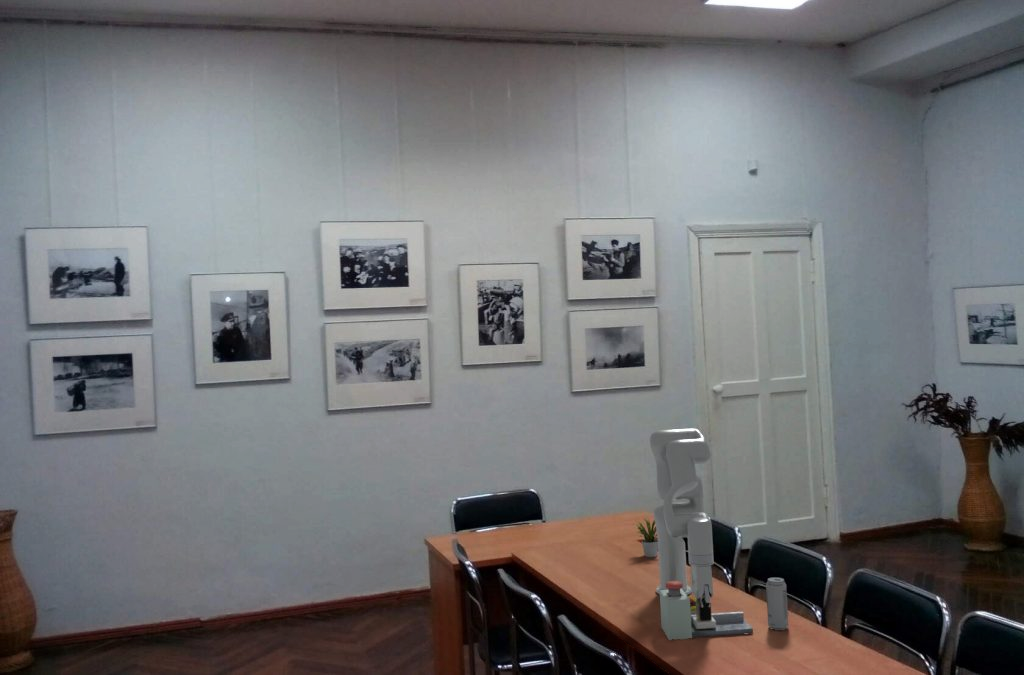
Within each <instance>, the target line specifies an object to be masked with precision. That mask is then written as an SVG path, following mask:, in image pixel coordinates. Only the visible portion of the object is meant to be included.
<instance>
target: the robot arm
mask: <svg viewBox="0 0 1024 675" xmlns="http://www.w3.org/2000/svg"><path fill="white" fill-rule="evenodd" d="M649 445H650V449H651V452H652V454H653V456H654V459H655V463H656V465H655V466H656V488H657V494H658V497H659V498H660V499H661V500H663V503H661V504H659V505H657V506H656V507H655V508H654V511H653V518H654V519H653V520H655V526H656V529H657V530H656V534H657V536H656V537H657V540H658V567H659V585H658V586H657V587H656V588H655V591H656V593H657V594H658V595H660V590H668V588H666V586H665V583H666V582H669V581H678V582H682V585H683V587H682V588H680V589H682V590H683V591H684V592H685V594H686V595H687V596H688V595H691V594H693V595H694V596H695V598H696V600H700V604H701V607H700V619H701V620H711V614H712V608H711V609H710V602H711V599H712V597H713V596H714V587H713V586H714V584H713V575H712V573H713V571H712V565H714V564H715V563H714V561H715V560H714V544H713V526H712V519H711V517H710V516H709V515H708V513H706V512H705V510H704V508H705V507H704V506H705V505H704V486H703V481H702V478H701V477H700V475H699V474H698V473H697V470H696V465H699V464H700V465H701V464H707V463H709V461H710V459H711V448H710V445H709V443H708V440H707V439H706V438H705V436H704V435H703V434H702V432H701V431H700V430H699V429H697V428H677V429H676V428H672V429H660V430H656V431H654V432H652V433H651V434H650V437H649ZM684 500H685V502H684ZM686 500H689V501H686ZM674 501H683V502H674ZM684 538H687V552H688V564H689V565H690V570H689V571H690V575H689V576H690V578H689V579H690V585H688V577H687V573H688V572H687V555H686V554H687V553H686V542H685V540H684Z"/></svg>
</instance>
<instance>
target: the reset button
mask: <svg viewBox="0 0 1024 675" xmlns="http://www.w3.org/2000/svg"><path fill="white" fill-rule="evenodd" d="M665 586H666V588H668V593H669V597H678V596H680V588H682V587H683V585H682V582H678V581H669V582H666V583H665Z"/></svg>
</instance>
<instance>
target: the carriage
mask: <svg viewBox="0 0 1024 675" xmlns="http://www.w3.org/2000/svg"><path fill="white" fill-rule="evenodd" d="M700 607H701V604H700V600H696V617H693V624H694V626H695V627H696V629H705V628H716V621H715V620H714V618H713V617H712V614H713V613H711V620H701V619H700ZM710 609H711V610H712V602H711V601H710Z"/></svg>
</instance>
